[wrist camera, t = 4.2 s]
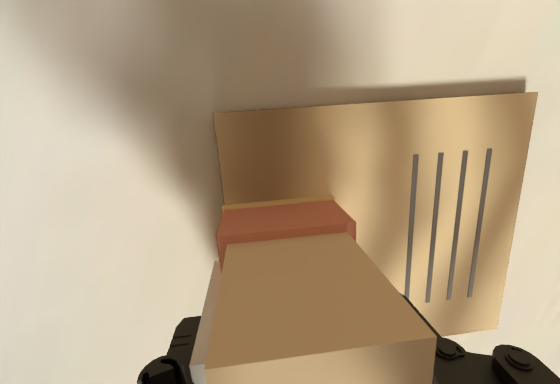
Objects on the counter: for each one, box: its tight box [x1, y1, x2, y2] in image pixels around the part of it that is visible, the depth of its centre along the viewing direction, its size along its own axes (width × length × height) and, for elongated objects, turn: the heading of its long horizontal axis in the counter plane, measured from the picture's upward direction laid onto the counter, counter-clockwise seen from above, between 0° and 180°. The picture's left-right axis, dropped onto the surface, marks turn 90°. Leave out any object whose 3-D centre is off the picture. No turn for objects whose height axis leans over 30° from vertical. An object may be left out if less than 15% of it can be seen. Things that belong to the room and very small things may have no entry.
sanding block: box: [204, 195, 437, 384], centre depth 12 cm, size 6×8×10 cm
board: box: [213, 92, 538, 337], centre depth 17 cm, size 18×16×1 cm
